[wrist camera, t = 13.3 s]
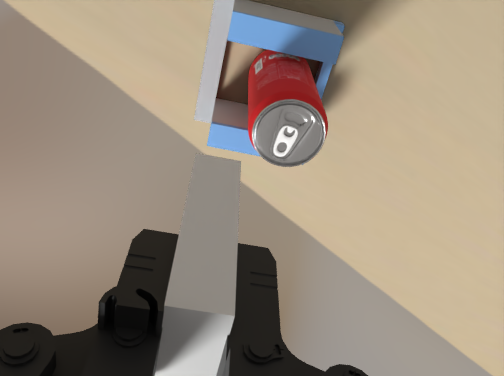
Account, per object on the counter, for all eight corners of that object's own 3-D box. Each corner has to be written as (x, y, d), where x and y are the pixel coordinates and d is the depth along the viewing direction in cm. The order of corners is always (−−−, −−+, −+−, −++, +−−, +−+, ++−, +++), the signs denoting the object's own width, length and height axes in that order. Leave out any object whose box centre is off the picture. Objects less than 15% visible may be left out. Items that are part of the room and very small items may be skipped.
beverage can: (319, 56, 39) (344, 113, 29) (294, 110, 41) (308, 180, 31) (262, 33, 38) (266, 83, 28) (239, 90, 40) (236, 155, 30)
